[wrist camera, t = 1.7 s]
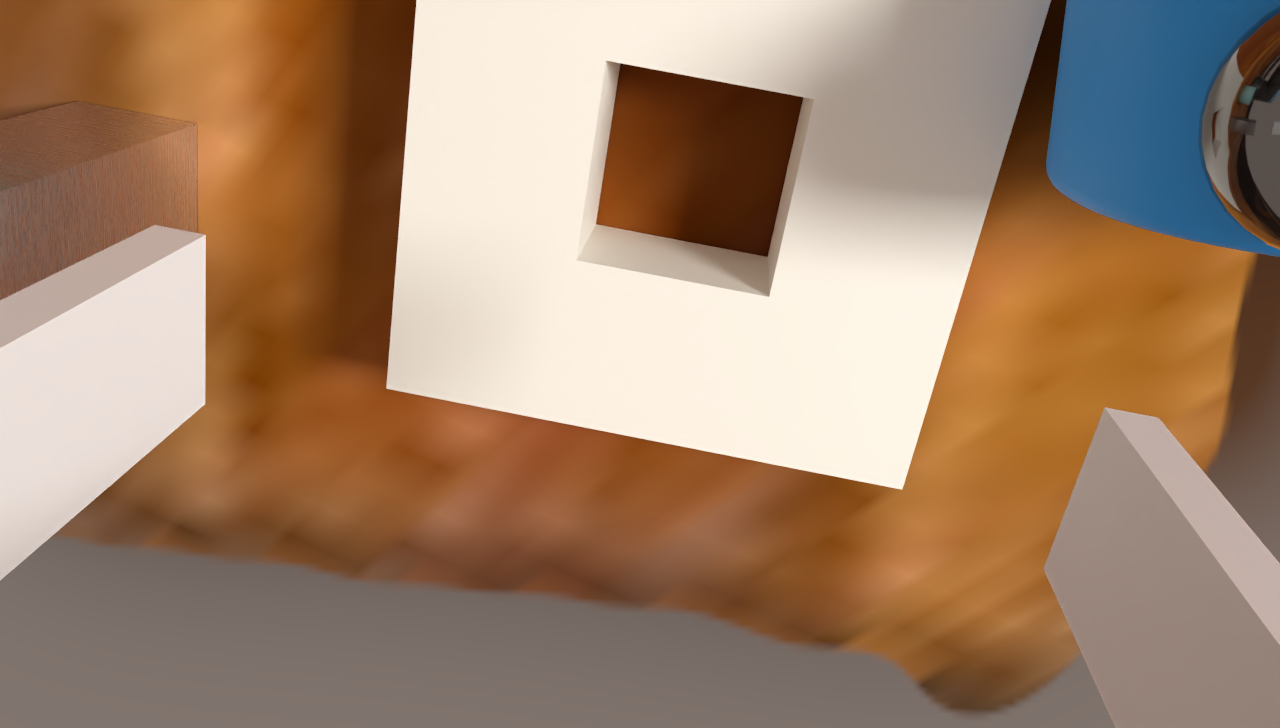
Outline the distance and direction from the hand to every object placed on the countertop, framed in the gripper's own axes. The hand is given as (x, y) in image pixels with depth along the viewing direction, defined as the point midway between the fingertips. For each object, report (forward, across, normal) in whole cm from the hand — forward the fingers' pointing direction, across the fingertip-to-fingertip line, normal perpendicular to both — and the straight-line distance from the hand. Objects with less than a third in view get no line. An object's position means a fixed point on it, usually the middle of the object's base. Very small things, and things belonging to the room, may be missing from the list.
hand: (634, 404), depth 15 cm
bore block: (+19, 0, 0) cm, 19 cm away
